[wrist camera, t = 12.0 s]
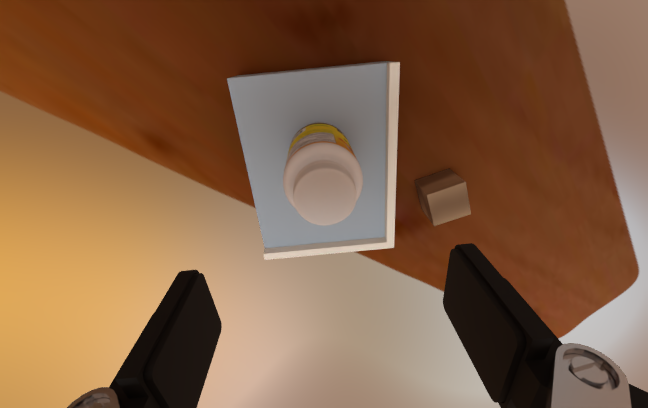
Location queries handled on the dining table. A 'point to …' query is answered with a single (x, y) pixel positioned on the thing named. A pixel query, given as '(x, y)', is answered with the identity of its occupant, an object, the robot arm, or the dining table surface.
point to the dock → (352, 120)
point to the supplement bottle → (322, 174)
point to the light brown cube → (443, 196)
